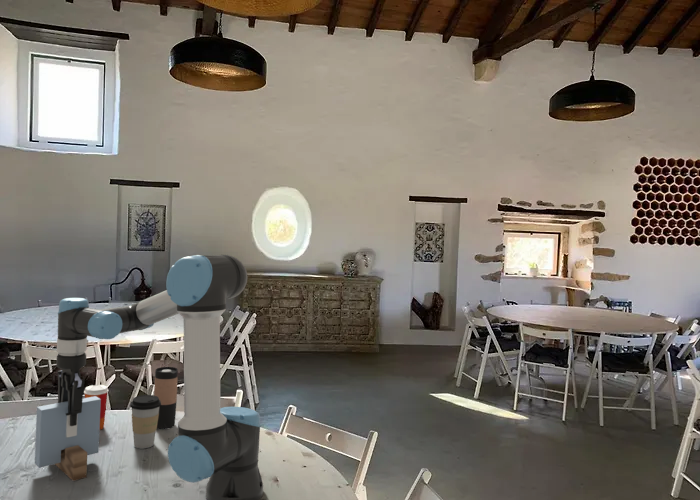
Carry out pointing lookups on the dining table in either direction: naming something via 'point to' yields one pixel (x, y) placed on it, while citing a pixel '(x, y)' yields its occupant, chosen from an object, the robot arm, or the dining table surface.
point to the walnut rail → (73, 462)
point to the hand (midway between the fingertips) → (68, 433)
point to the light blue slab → (54, 430)
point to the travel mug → (166, 395)
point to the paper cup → (101, 393)
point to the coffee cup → (145, 419)
